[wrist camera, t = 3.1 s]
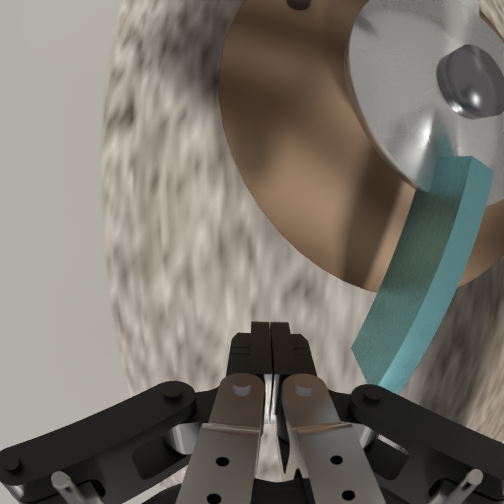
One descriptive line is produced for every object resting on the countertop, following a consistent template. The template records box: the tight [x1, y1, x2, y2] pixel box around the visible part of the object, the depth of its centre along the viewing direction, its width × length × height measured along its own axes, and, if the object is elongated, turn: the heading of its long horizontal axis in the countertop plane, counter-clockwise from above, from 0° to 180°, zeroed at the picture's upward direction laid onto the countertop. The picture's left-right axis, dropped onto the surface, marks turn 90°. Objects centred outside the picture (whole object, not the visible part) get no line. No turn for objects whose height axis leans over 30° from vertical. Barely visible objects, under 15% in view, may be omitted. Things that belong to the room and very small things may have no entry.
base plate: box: [219, 0, 504, 293], centre depth 14 cm, size 28×28×8 cm
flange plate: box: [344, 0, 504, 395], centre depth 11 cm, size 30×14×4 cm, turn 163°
